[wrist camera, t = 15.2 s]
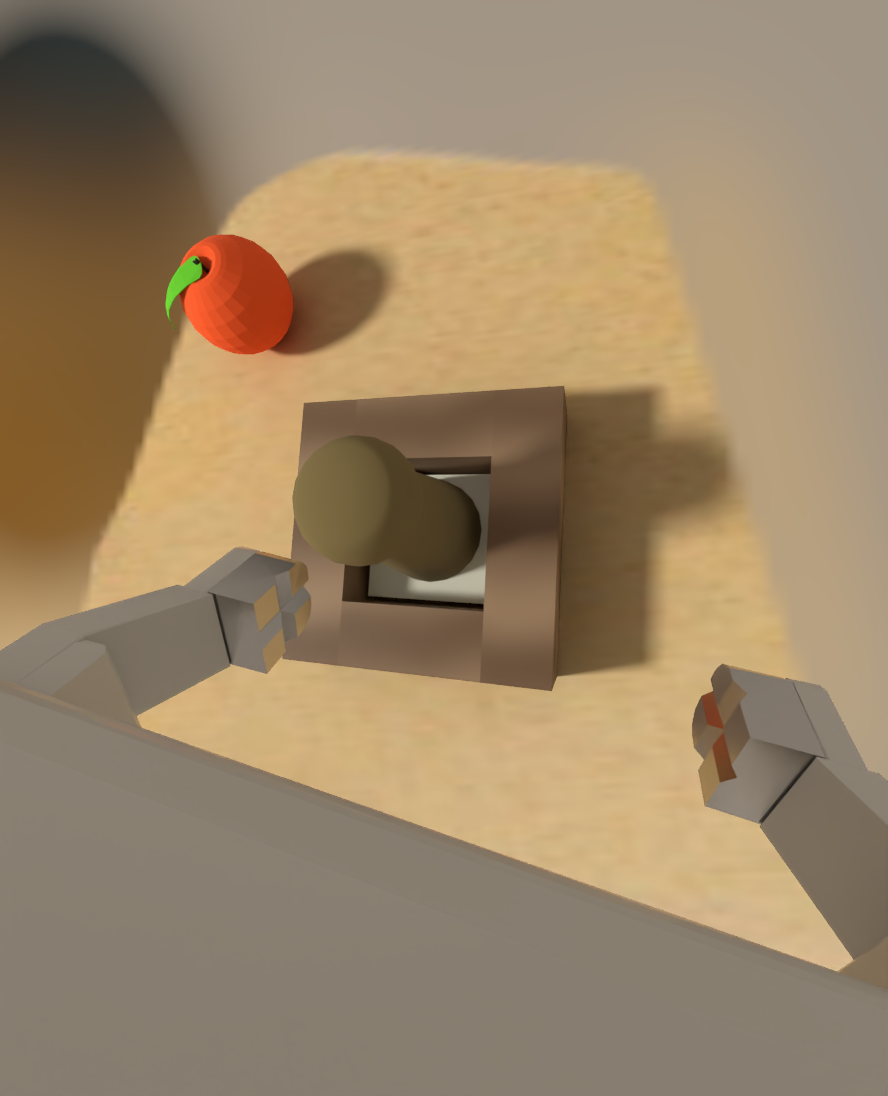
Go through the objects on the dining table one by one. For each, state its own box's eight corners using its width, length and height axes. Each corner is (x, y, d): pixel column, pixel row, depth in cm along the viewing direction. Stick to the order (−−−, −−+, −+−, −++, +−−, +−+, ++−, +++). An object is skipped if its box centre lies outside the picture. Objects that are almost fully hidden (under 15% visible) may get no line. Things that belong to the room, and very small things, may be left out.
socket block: (556, 676, 26) (551, 691, 22) (320, 650, 31) (282, 658, 27) (567, 414, 27) (563, 385, 24) (337, 425, 32) (304, 403, 28)
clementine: (242, 399, 34) (157, 351, 28) (209, 326, 36) (121, 265, 29) (328, 334, 33) (261, 266, 26) (290, 261, 34) (217, 179, 27)
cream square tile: (491, 603, 27) (488, 604, 26) (375, 595, 29) (367, 595, 28) (498, 478, 28) (494, 473, 27) (383, 479, 30) (376, 475, 29)
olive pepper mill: (482, 477, 27) (416, 405, 17) (480, 583, 27) (411, 576, 16) (385, 482, 29) (270, 419, 18) (382, 581, 28) (262, 574, 18)
